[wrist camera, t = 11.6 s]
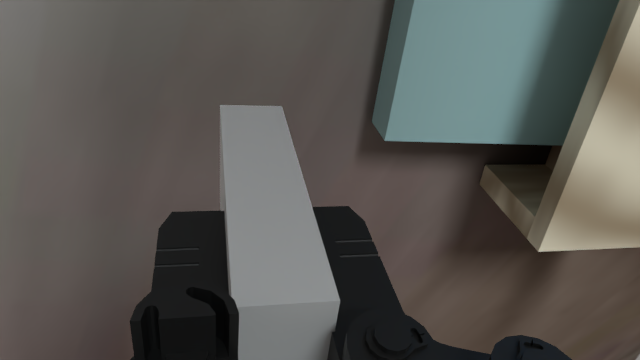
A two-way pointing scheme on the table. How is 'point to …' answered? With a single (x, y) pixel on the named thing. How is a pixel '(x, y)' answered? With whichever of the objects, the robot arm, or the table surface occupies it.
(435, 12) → the teal square tile
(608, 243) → the shelf
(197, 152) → the table surface
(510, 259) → the table surface
